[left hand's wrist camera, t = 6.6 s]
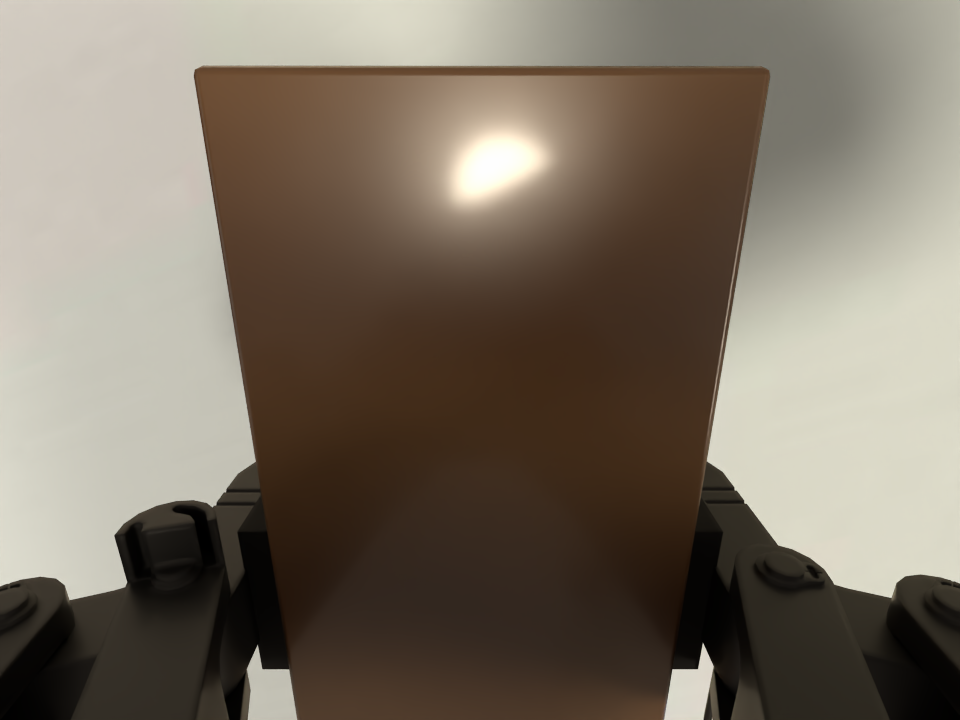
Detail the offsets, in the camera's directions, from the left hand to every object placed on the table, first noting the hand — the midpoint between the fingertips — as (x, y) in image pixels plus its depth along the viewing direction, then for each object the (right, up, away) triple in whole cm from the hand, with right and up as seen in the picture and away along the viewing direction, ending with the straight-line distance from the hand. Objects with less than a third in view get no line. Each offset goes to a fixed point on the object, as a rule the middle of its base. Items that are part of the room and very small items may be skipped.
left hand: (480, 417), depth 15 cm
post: (0, -31, +12) cm, 33 cm away
